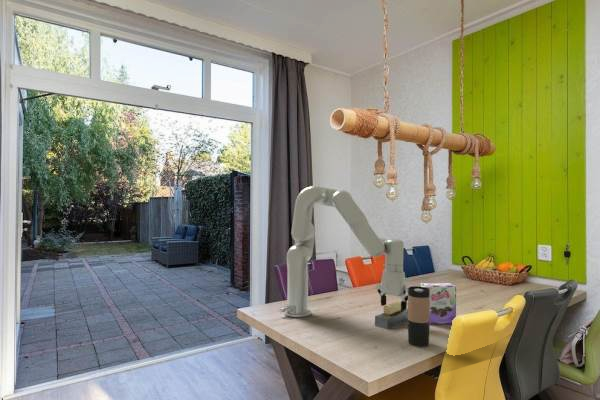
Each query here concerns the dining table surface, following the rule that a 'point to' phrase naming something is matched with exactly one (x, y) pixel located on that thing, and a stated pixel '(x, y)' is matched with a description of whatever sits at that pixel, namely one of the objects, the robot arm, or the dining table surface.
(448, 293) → the candy box
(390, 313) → the khaki arch block
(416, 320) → the travel mug
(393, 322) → the grey cinder block
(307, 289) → the robot arm
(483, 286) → the dining table surface
